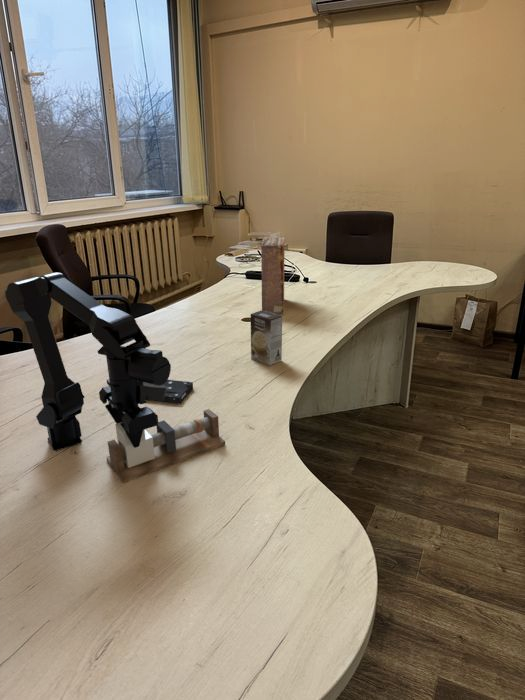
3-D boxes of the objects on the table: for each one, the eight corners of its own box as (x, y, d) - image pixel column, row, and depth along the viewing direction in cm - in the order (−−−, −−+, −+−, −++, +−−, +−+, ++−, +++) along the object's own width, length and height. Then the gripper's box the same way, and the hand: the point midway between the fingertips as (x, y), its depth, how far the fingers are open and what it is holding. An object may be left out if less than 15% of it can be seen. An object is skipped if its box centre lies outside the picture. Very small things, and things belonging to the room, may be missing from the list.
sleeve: (128, 467, 105) (124, 434, 102) (119, 456, 109) (115, 424, 106) (154, 458, 108) (151, 426, 105) (145, 447, 112) (141, 416, 109)
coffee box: (249, 359, 165) (249, 313, 159) (262, 353, 169) (262, 309, 164) (270, 366, 159) (269, 319, 153) (282, 360, 164) (283, 314, 158)
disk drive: (193, 390, 145) (147, 385, 148) (193, 381, 143) (146, 376, 147) (180, 406, 135) (131, 400, 138) (180, 397, 134) (130, 391, 137)
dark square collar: (168, 453, 109) (166, 432, 107) (158, 443, 114) (156, 422, 112) (176, 450, 110) (174, 430, 109) (166, 440, 115) (164, 420, 113)
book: (265, 299, 236) (264, 236, 225) (284, 299, 235) (284, 236, 224) (261, 314, 212) (261, 245, 201) (283, 314, 212) (283, 245, 201)
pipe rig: (122, 482, 102) (119, 456, 100) (106, 460, 110) (103, 436, 107) (225, 444, 115) (224, 420, 113) (204, 427, 123) (203, 404, 121)
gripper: (179, 381, 98) (184, 448, 103) (142, 353, 112) (149, 413, 118) (125, 395, 92) (134, 466, 97) (94, 364, 106) (103, 427, 112)
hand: (131, 441), depth 106 cm, fingers closed on sleeve, 5 cm apart
